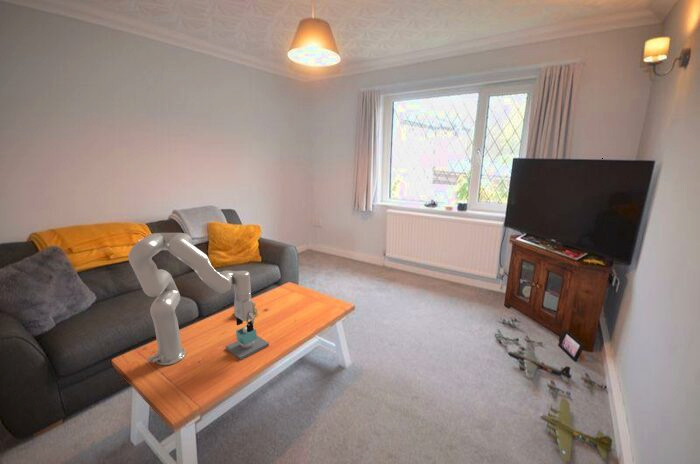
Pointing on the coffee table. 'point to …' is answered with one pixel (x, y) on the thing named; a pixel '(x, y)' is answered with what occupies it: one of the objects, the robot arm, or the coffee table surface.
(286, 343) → the coffee table surface
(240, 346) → the post plate
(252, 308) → the ceramic model
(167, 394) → the coffee table surface
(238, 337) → the collar
